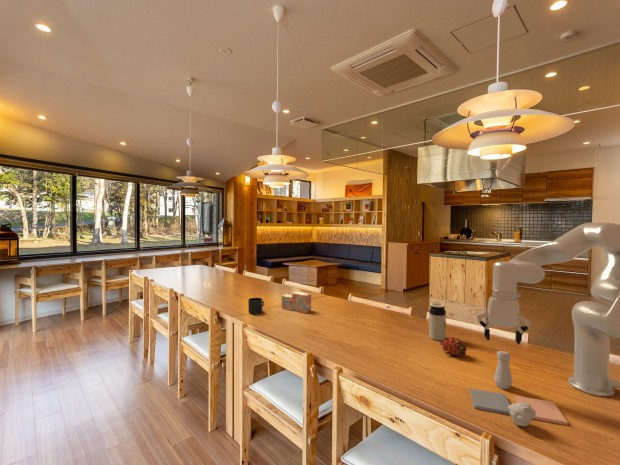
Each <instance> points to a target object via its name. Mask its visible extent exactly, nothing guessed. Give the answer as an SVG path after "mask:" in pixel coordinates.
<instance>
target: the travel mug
mask: <svg viewBox="0 0 620 465" xmlns="http://www.w3.org/2000/svg"><path fill="white" fill-rule="evenodd" d="M429 305H430V308H429V310H428V312H429V314H428V315H429V318H428V319H429V320H428V323H429V325H428V327H429V328H428V329H429V330H428V332H429V333H428V334H429V335H428V337H429V338H430V339H431V340H433V341H438V342H439V341H440V342H442V341H445V340H447V339H446V338H447V336H446V334H447V330H446V329H447V328H446V325H447V324H446V323H447V320H446V319H447V317H446V316H447V314H446V313H447V310H446V304H445V303H440V302H431V303H429Z"/></svg>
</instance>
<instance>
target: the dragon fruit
mask: <svg viewBox="0 0 620 465" xmlns="http://www.w3.org/2000/svg"><path fill="white" fill-rule="evenodd" d="M439 345H441V347H442V350H443V351H444V352H447V353H448V354H449V356H455V357H460V356H465V355H466V354H467V353H466V351H467V350H468V349H467V347H466V346H467V345H466V344H465V342H463V340H461V339H460V338H458V337H454V336H453V337H450V338H447V339H445V340H443V341H440V343H439Z"/></svg>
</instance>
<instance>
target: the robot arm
mask: <svg viewBox="0 0 620 465" xmlns="http://www.w3.org/2000/svg"><path fill="white" fill-rule="evenodd" d="M595 247H599V248H602V249H603V252H604V255H605V262H604V265H603V267H602V269H601V270H600V272H599V274H598V276H597V277H596V279H595V280H594V282H593V284H592V285H591V288H590V293H591V295H592V297H593V298H595V299H596V300H598V301H601V302H603V303H606V304H609V305H610V306H608V305H605V304H602V303H599V302H594V301H588V300H583V301H582V300H581V301H578V302H576V303H575V304H574V305H573V307H572V309H571V320H572V322H573V323H572V324H573V330H574V331H573V332H574V345H573V346H574V347H573V348H574V349H573V350H574V351H573V375H571V376H569V377H568V380H567V381H568V383H569V385H570V386H572V388H575V389H577V390H579V391H581V392H583V393H587V394H588V395H589V394H590V395H594V396H599V397H613V396H615V388H619V389H620V381H618V380H617V379H613V378H612V379H611V378H610V353H611V352H610V350H611V348H610V347H611V345H610V338H609V337H611V338H616V339H620V224H618V223H613V222H612V223H610V222H585V223H582V224H580V225H578V226H576V227H574V228H572V229H571V230H569V231H568V232H566V233H564V234H562V235H561V236H559V237H558V238H555V239H554V240H552V241H550V242H548V243H545V244H541V245H539V246H536V247H533V248H529V249H528V250H524V251H523V252H521V253H519V254H518V255H516V256H514V257H513V258H511V259H510V260H509V261H501V260H500V261H495V262H494V263H493V265H492V284H491V285H492V288H491V291H492V292H491V294H492V295H491V296H489V298H488V302H487V307H486V308H487V309H486V312H484V313H480V314H478V315H476V319H477V320H478V322H479V324H480V325H481V326H482V327H483V328H484V330H483V331H484V332H483V333H484V334H483V335H484V336H483V337H484V338H485V339H486V341H490V336H491V329H490V328H491V327H492V326H496V327H504V328H512V329H513V328H514V329H516V330H515V338H514V339H515V340H514V341H515V343H516V344H518V345H521V342H522V341H523V334H524V332H526V331H527V330H529V328H530V327H531V325H532V322H531V321H530V320H528V318H525V317H524V316H521V311H520V302H519V300H518V299H517V298H521V297H522V294H521V293H520V292H517V286H518V285H517V284H518V283H523V284H530V285H531V284H538V283H540V282H542V281H543V280H544V279H545V277H546V272H545V270H544V268H543V266H545V265H551V264H553V265H554V264H562V263H567V262H570V261H572V260H574V259H575V258H577V257H579V256H581V255H582V254H584V253H586V252H587V251H590V250H591V249H592V248H595ZM484 318H486V322H484V321H483V319H484ZM521 322H524V324H523V325H522V326H521Z"/></svg>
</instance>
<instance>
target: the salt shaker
mask: <svg viewBox="0 0 620 465" xmlns="http://www.w3.org/2000/svg"><path fill="white" fill-rule="evenodd" d="M496 357H497V359H498V360H497V365H496V369H495V372H494V377H493V379H494V382H495V384H496V386H497V388H499V389H501V390H505V391H506V390H510V388H511V386H512V385H513V377H512V372H511V366H510V362H509V361H510V360H511V354H510V353H509V352H508V351H504V350H499V351H496Z"/></svg>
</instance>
